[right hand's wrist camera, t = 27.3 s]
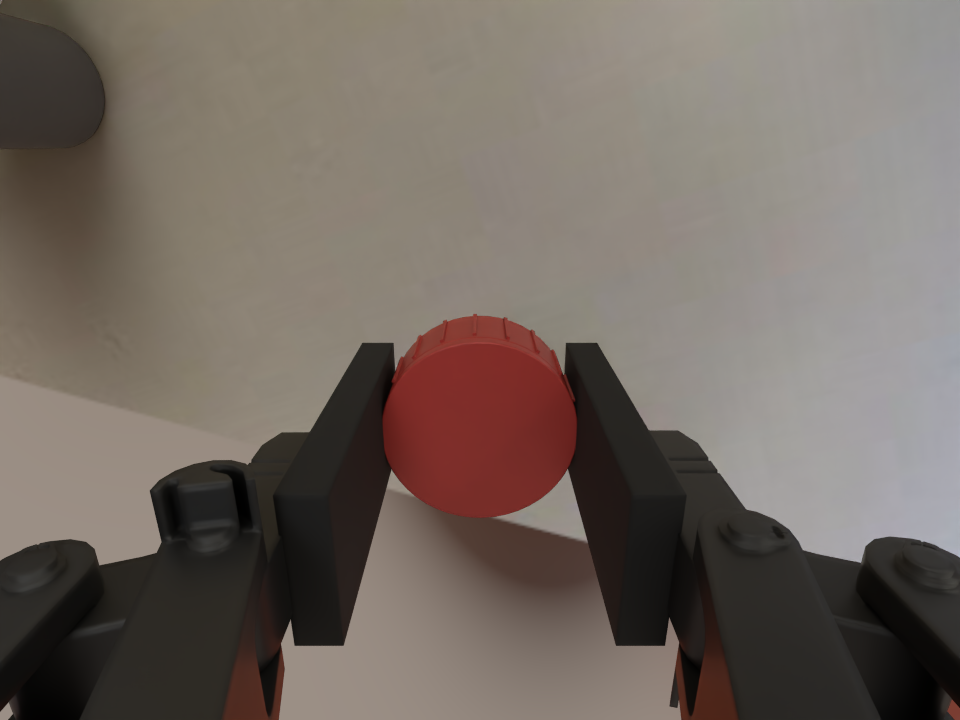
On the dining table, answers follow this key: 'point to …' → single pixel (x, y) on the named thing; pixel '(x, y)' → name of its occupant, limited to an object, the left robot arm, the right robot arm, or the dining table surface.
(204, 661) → the right robot arm
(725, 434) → the dining table surface
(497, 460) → the cap
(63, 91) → the bottle
